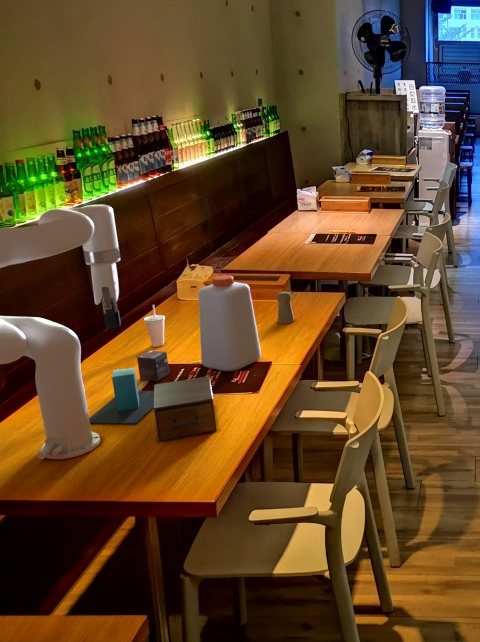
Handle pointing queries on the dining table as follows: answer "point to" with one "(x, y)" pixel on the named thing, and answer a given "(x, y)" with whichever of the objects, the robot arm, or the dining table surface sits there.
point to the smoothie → (155, 328)
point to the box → (153, 365)
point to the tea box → (125, 389)
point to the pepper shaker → (284, 308)
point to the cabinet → (183, 397)
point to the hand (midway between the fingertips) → (113, 326)
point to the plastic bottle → (227, 325)
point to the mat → (124, 411)
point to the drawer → (185, 420)
